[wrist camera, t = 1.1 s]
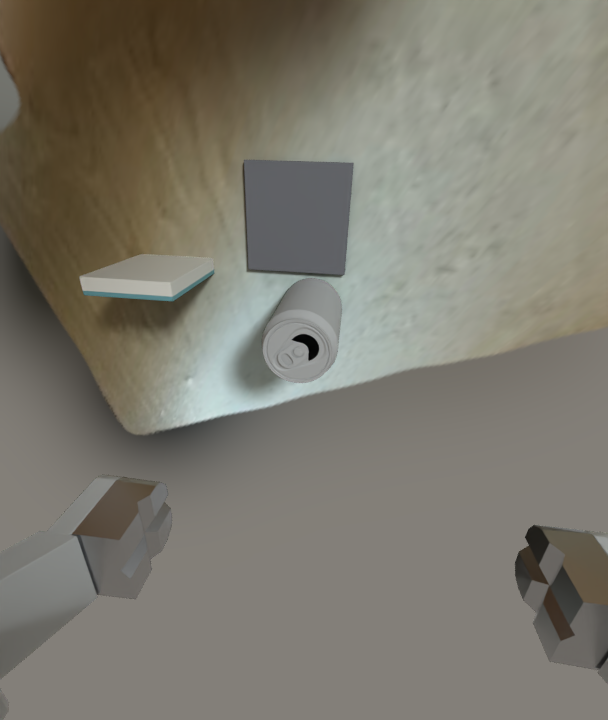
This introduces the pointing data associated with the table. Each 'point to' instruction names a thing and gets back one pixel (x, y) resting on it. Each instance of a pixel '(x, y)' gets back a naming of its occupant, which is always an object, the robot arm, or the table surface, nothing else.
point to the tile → (148, 277)
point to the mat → (297, 215)
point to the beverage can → (303, 332)
